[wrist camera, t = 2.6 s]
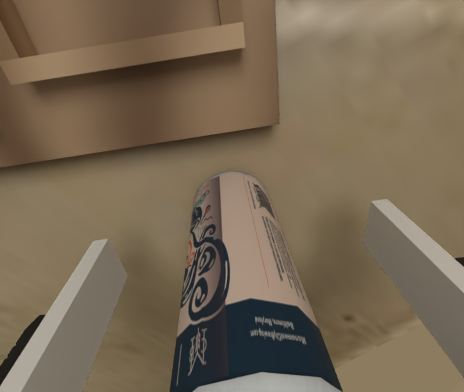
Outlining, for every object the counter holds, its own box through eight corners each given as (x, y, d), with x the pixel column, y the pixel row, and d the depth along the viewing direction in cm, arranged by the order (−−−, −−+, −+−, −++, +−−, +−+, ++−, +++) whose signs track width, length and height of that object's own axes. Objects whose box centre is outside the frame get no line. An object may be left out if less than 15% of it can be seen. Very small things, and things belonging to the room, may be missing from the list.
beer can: (191, 169, 15) (138, 450, 4) (270, 166, 15) (397, 428, 5) (197, 232, 17) (172, 507, 7) (265, 229, 17) (340, 489, 7)
